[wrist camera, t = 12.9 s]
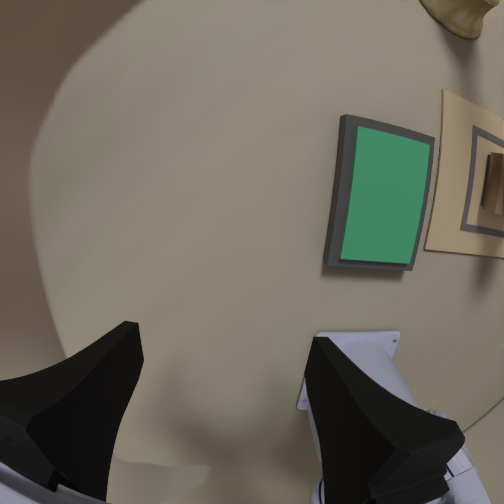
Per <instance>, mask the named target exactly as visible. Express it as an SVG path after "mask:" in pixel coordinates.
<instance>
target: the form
mask: <svg viewBox="0 0 504 504" xmlns="http://www.w3.org/2000/svg"><path fill="white" fill-rule="evenodd" d="M491 152H494V153H502V154H504V120H502V119H501V118H499V117H497V116H495V115H494V114H492V113H490V112H489V111H487V110H485V109H483V108H481V107H480V106H478V105H476V104H474V103H472V102H470V101H468V100H466V99H464V98H462V97H460V96H458V95H456V94H454V93H452V92H449V91H447V90H445V89H442V123H441V140H440V153H439V163H438V171H437V179H436V187H435V193H434V200H433V206H432V211H431V217H430V222H429V227H428V232H427V236H426V241H425V245H424V249H429V250H439V251H448V252H457V253H467V254H476V255H484V256H493V257H501V258H504V216H501V215H499V214H496V213H493V212H490V211H488V210H485V209H483V206H481V205H480V203H481V198H482V193H483V186H484V180H485V173H486V165H487V156H488V155H491Z"/></svg>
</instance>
